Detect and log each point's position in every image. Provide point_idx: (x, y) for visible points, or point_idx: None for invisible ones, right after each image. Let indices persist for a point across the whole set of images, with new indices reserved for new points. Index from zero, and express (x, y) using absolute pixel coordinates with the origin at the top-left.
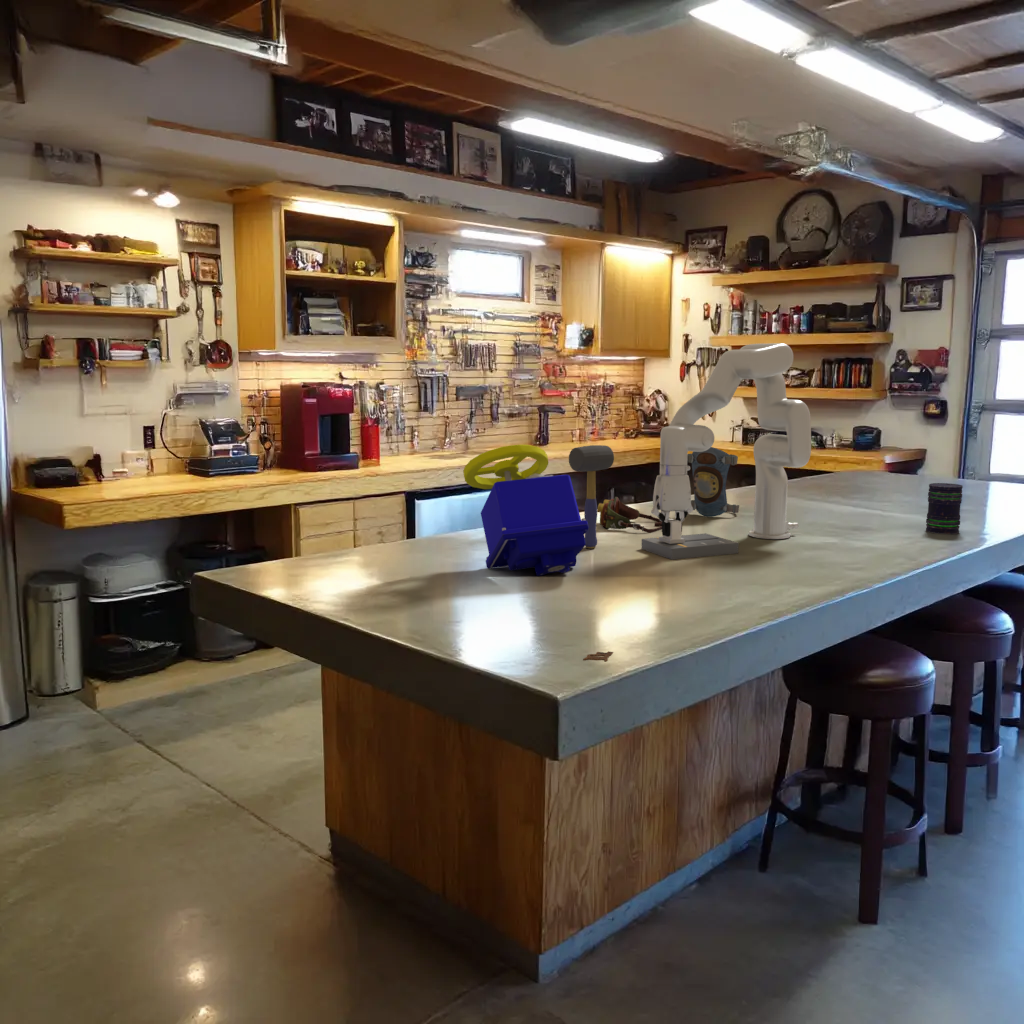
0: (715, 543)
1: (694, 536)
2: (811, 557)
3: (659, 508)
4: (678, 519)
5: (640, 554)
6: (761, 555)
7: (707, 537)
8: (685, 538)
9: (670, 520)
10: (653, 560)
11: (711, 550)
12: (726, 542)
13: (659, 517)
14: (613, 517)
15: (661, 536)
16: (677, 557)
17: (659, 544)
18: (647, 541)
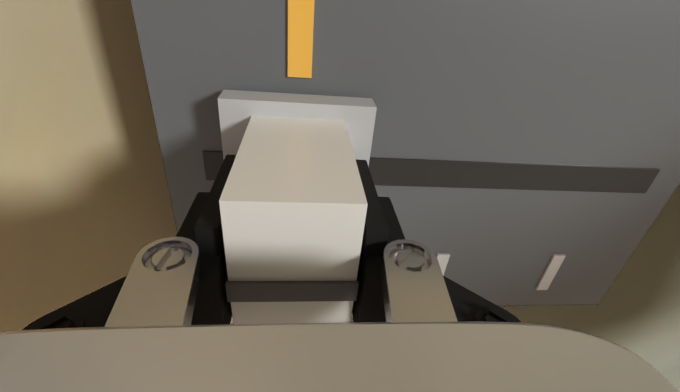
0: (496, 284)
1: (616, 51)
2: (662, 374)
3: (58, 346)
4: (359, 316)
5: (75, 95)
6: (588, 318)
7: (638, 132)
8: (489, 91)
9: (263, 300)
10: (107, 250)
11: None
12: (562, 284)
13: (92, 314)
14: None
15: (247, 105)
16: None
17: (174, 196)
18: (138, 23)
